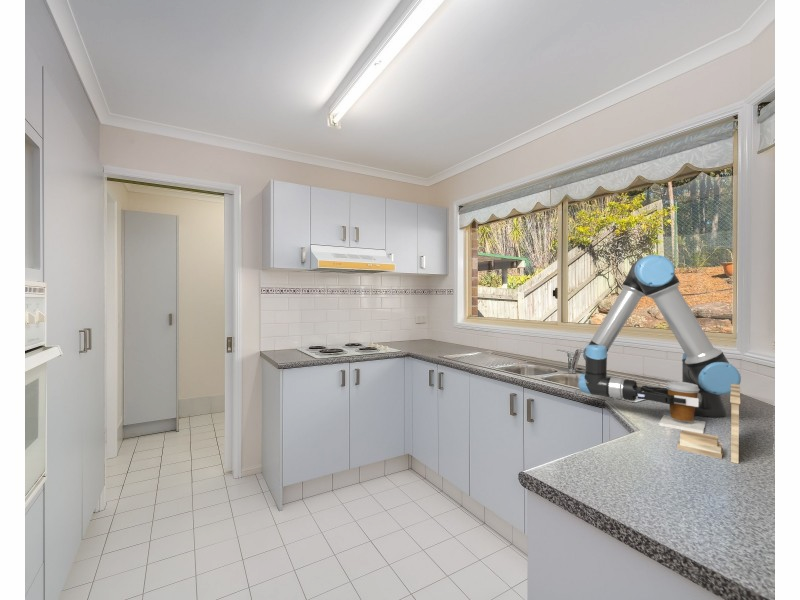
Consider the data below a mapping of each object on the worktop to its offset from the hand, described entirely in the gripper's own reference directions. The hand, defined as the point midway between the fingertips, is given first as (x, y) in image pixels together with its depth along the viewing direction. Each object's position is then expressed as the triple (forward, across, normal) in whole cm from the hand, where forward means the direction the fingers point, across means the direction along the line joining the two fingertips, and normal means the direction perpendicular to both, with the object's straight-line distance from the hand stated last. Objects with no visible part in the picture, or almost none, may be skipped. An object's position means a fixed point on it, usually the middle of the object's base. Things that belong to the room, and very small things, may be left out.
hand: (699, 400), depth 131 cm
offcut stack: (+2, +25, -10) cm, 27 cm away
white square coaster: (-5, 0, -10) cm, 11 cm away
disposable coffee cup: (-5, 0, -7) cm, 9 cm away
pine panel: (+9, +17, -10) cm, 22 cm away
